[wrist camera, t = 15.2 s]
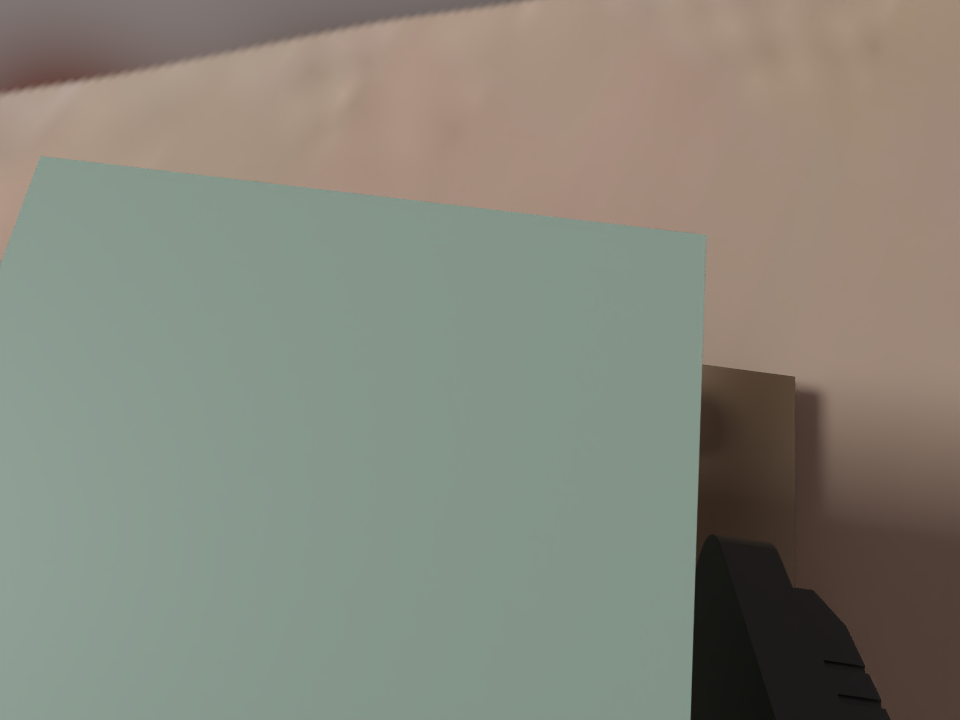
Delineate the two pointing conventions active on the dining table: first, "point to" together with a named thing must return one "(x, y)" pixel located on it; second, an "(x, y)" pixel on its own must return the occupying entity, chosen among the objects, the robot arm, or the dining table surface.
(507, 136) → the dining table surface
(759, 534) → the plate
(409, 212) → the green block
